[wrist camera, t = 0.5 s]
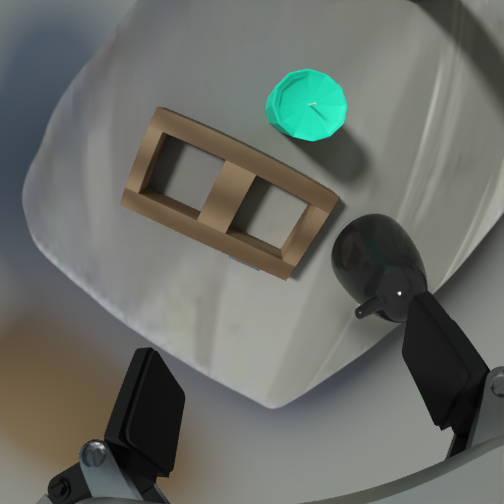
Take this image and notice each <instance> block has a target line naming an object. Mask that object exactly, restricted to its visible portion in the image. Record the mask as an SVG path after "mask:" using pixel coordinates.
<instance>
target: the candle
mask: <svg viewBox="0 0 504 504" xmlns="http://www.w3.org/2000/svg"><path fill="white" fill-rule="evenodd" d="M346 111H347V103H346V100H345V97H344V94H343V91H342V88H341V87H340V86H339V85H338V84H337V83H336V82H335V81H334V80H332V79H331V78H330V77H329V76H328V75H327V74H324V73H321V72H317V71H314V70H310V69H305V70H300V71H295V72H291V73H289V74H288V75H287V76H286V77H285V78H284V79H283V80H282V81H281V82H280V83H279V84H278V85H277V86H276V87H275V88H274V90H273V91H272V93H271V94H270V95H269V97H268V99H267V104H266V108H265V112H266V114H267V117H268V120H269V123H270V124H271V125H272V126H274V127H275V128H276V129H277V130H278V131H279V132H281V133H284V134H287V135H289V136H292V137H296V138H300V139H304V140H308V141H312V142H313V141H317V140H320V139H323V138H327V137H330V136H331V135H332V134H333V133H334V132H335V131H337V130H338V129H339V128H340V127H341V126H342V125H343V124H344V121H345V116H346Z"/></svg>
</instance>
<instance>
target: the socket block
mask: <svg viewBox="0 0 504 504" xmlns="http://www.w3.org/2000/svg"><path fill="white" fill-rule="evenodd" d="M168 134H169V135H171V136H174V137H176V138H178V139H181V140H183V141H185V142H188V143H190V144H192V145H194V146H197V147H199V148H201V149H203V150H205V151H208V152H210V153H212V154H214V155H216V156H218V157H220V158H223V159H225V160H226V161H225V163H224V165H223V167H222V169H221V171H220V173H219V175H218V177H217V179H216V181H215V183H214V185H213V188H212V190H211V192H210V194H209V196H208V198H207V200H206V202H205V204H204V206H203V208H202V211H201V212H200V211H198V210H196V209H193V208H191V207H189V206H187V205H185V204H183V203H181V202H178V201H176V200H174V199H172V198H170V197H167V196H165V195H163V194H161V193H159V192H157V191H154V190H152V189H150V188H148V187H147V185H148V183H149V180H150V177H151V175H152V172H153V170H154V167H155V165H156V162H157V160H158V158H159V155H160V153H161V150H162V148H163V146H164V143H165V141H166V139H167V137H168ZM256 175H257V176H259V177H261V178H263V179H265V180H267V181H269V182H271V183H273V184H275V185H277V186H279V187H281V188H283V189H284V190H286V191H288V192H290V193H292V194H294V195H296V196H298V197H299V198H301V199H303V200H305V201H307V202H308V203H309V204H308V205H307V207H306V209H305V210H304V212H303V214H302V215H301V217H300V219H299V220H298V222H297V224H296V225H295V227H294V228H293V230H292V232H291V233H290V235H289V237H288V238H287V240H286V242H285V243H284V245H283V246H282V248H281V250H280V249H278V248H276V247H274V246H272V245H270V244H268V243H266V242H264V241H262V240H259V239H257V238H255V237H253V236H251V235H249V234H247V233H245V232H243V231H240V230H238V229H236V228H234V227H232V226H230V223H231V221H232V219H233V217H234V216H235V214H236V212H237V210H238V208H239V206H240V204H241V202H242V200H243V198H244V197H245V195H246V193H247V191H248V189H249V187H250V185H251V184H252V182H253V180H254V178H255V176H256ZM339 198H340V197H339V196H338V195H336V194H335V193H334V192H333V191H332V190H330V189H329V188H327V187H325V186H324V185H322V184H320V183H318V182H317V181H315V180H313V179H312V178H310V177H308V176H306V175H304V174H303V173H301V172H299V171H297V170H296V169H294V168H292V167H290V166H288V165H286V164H284V163H283V162H281V161H279V160H277V159H275V158H273V157H271V156H269V155H267V154H265V153H264V152H262V151H260V150H258V149H256V148H254V147H252V146H250V145H248V144H246V143H244V142H242V141H239V140H237V139H235V138H233V137H231V136H229V135H227V134H225V133H223V132H220V131H218V130H216V129H214V128H212V127H209V126H207V125H205V124H203V123H200V122H198V121H196V120H193V119H191V118H189V117H186V116H184V115H182V114H179V113H177V112H174V111H172V110H169V109H167V108H162V107H157V109H156V111H155V113H154V115H153V117H152V120H151V122H150V124H149V126H148V129H147V131H146V134H145V136H144V138H143V141H142V143H141V146H140V148H139V151H138V153H137V156H136V159H135V161H134V164H133V167H132V170H131V172H130V175H129V178H128V181H127V184H126V187H125V190H124V193H123V196H122V199H121V202H120V205H121V206H124V207H126V208H128V209H130V210H132V211H134V212H136V213H139V214H141V215H143V216H145V219H147V220H149V221H151V222H153V223H155V224H157V225H160V226H162V227H164V228H166V229H168V230H170V231H173V232H176V231H177V232H179V233H182V234H184V235H186V236H188V237H190V238H192V239H195V240H197V241H199V242H201V243H203V244H205V245H208V246H210V247H212V248H214V249H216V250H219V251H221V252H223V253H225V254H227V255H229V258H232V259H234V260H236V261H238V262H240V263H243V264H245V265H247V266H249V267H252V268H254V269H256V270H258V271H259V270H260V269H261V270H263V271H265V272H267V273H270V274H272V275H274V276H276V277H278V278H281V279H283V280H285V281H286V280H287V278H288V277H289V275H290V274H291V272H292V271H293V269H294V268H295V266H296V265H297V263H298V262H299V260H300V259H301V257H302V256H303V254H304V253H305V251H306V250H307V248H308V247H309V245H310V244H311V242H312V240H313V239H314V237H315V236H316V234H317V233H318V231H319V230H320V228H321V226H322V225H323V223H324V222H325V220H326V218H327V217H328V215H329V214H330V212H331V210H332V209H333V207H334V206H335V204H336V202H337V201H338V199H339Z"/></svg>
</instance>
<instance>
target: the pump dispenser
mask: <svg viewBox="0 0 504 504" xmlns="http://www.w3.org/2000/svg"><path fill="white" fill-rule="evenodd" d="M331 263H332V268H333V271H334V273H335V275H336V277H337V279H338V281H339V282H340V284H341V285H342V286H343V287H344V289H345V290H346V291H347V292H348V293H349V295H350V296H351V297H352V298H353V299H354V300H355V301H357V302H358V303H359V304H360V305H361V306H359V307H358V308H356V309H355V316H356V317H357V318H358V319H362V318H364V317H366V316H368V315H371V314H374V315H376V316H378V317H379V318H382V319H384V320H387V321H390V322H395V323H402V322H407V316H408V308H409V302H410V300H412V299H413V296H414V295H416V294H419V293H422V292H426V291H428V283H427V276H426V272H425V268H424V265H423V262H422V259H421V256H420V254H419V252H418V250H417V248H416V246H415V244H414V243H413V241H412V239H411V238H410V236H409V235H408V234H407V232H406V231H405V230H404V229H403V227H402V226H401V225H400V224H399V223H397V222H396V221H395V220H394V219H392V218H390V217H388V216H386V215H382V214H366V215H361V216H358V217H355V218H353V219H352V220H350V221H349V222H347V223H346V224H345V225H344V226H343V227H342V228H341V230H340V231H339V233H338V234H337V236H336V239H335V241H334V245H333V249H332V254H331Z"/></svg>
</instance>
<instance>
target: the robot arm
mask: <svg viewBox="0 0 504 504" xmlns="http://www.w3.org/2000/svg"><path fill="white" fill-rule="evenodd" d="M402 355H403V359H404V361H405V363H406V364H407V366H408V369H409V371H410V373H411V375H412V376H413V379H414V381H415V383H416V385H417V387H418V389H419V391H420V394H421V395H422V398H423V400H424V402H425V404H426V407H427V409H428V411H429V413H430V415H431V418H432V420H433V422H434V424H435V425H436V426H438V425H439V427H440V429H441V431H442V430H444V429H446V428H448V427H450V426H451V427H452V430H453V432H454V436H453V439H452V442H451V444H450V448H449V450H448V453H447V455H446V458H445V460H444V461H442V462H440V463H438V464H435V465H433V466H431V467H428V468H426V469H424V470H421V471H419V472H416V473H414V474H411V475H409V476H406V477H403V478H401V479H398V480H395V481H392V482H389V483H386V484H383V485H380V486H377V487H373V488H370V489H367V490H363V491H359V492H356V493H352V494H347V495H343V496H339V497H335V498H329V499H324V500H319V501H313V502H306V503H300V504H504V366H500V367H496V368H494V369H493V370H491V371H490V369H489V368H488V366H487V365H486V363H485V362H484V360H483V359H482V358H481V356H480V355H479V353H478V352H477V350H476V349H475V347H474V346H473V345H472V343H471V342H470V341H469V339H468V338H467V337H466V335H465V334H464V332H463V331H462V330H461V328H460V327H459V326H458V325H457V323H456V322H455V321H454V320H452V319H451V318H450V317H449V315H448V314H447V313H446V312H445V310H444V309H443V308H442V306H441V305H440V304H439V303H438V301H437V300H436V299H435V298H434V297H433V295H432V294H431V293H430V292H429V291H426V292H422V293H419V294H416V295H414V296H413V299H412V300H410V302H409V308H408V316H407V323H406V330H405V336H404V342H403V347H402ZM184 403H185V394H184V391H183V390H182V388H181V387H180V386H179V384H178V383H177V381H176V380H175V378H174V376H173V375H172V373H171V372H170V371H169V369H168V367H167V366H166V364H165V363H164V361H163V359H162V358H161V356H160V354H159V353H158V352H157V351H154V349H152V348H150V347H149V348H139V349H137V350H136V351H135V353H134V356H133V358H132V361H131V363H130V366H129V368H128V371H127V373H126V376H125V378H124V381H123V384H122V387H121V389H120V392H119V394H118V397H117V400H116V403H115V405H114V408H113V411H112V414H111V417H110V420H109V423H108V426H107V429H106V432H105V435H104V437H105V438H104V441H103V440H100V439H92V440H89V441H88V442H86V443H85V444H84V445H83V446H82V447H81V449H80V452H79V462H78V463H76V464H75V465H73V466H72V467H70V468H68V469H67V470H65V471H63V472H62V473H60V474H58V475H56V476H55V477H54V478H53V479H51V481H50V483H49V486H48V494H49V495H47V494H45V495H43V497H42V498H41V499H40V500H39V501H38V502H37V503H36V504H171V503H170V502H169V501H168V499H167V498H166V497H165V495H164V494H163V492H162V491H161V489H160V488H159V486H158V485H157V483H156V478H157V476H158V477H168V478H169V474H170V472H171V471H172V470H173V468H174V463H175V457H176V450H177V444H178V438H179V432H180V426H181V421H182V415H183V409H184Z"/></svg>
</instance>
